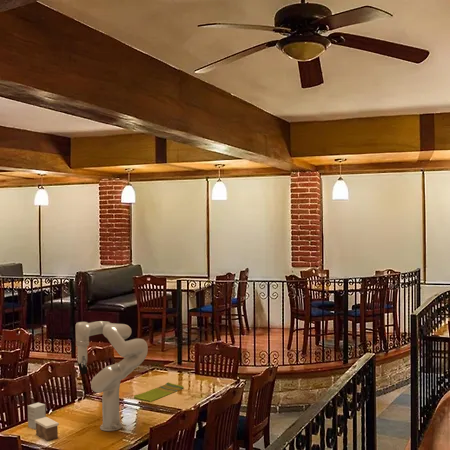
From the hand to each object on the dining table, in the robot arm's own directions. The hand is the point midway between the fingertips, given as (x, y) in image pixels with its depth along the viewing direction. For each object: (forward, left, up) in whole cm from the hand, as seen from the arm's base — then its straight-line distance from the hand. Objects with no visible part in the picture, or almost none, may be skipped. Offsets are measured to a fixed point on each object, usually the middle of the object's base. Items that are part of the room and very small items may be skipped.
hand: (83, 371), depth 333 cm
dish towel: (+12, -63, -30) cm, 71 cm away
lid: (-7, +27, -22) cm, 35 cm away
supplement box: (+13, +24, -29) cm, 40 cm away
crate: (-7, +27, -29) cm, 40 cm away
